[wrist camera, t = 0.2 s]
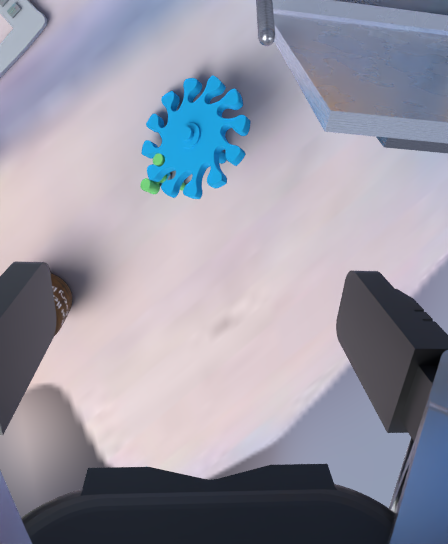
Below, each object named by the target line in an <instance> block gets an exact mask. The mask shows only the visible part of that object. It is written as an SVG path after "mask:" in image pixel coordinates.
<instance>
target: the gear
mask: <svg viewBox="0 0 448 544" xmlns="http://www.w3.org/2000/svg"><path fill="white" fill-rule="evenodd" d="M183 87H184V98H183V101H182V104H181V106H180V108H179V110H177V107H178V105H179V102H180V98H179V96H178V95H177V94H175V93H174V92H173V91H170V92H168V93H167V94H165V95H164V96H163V97H162V103H163V105H164V106H165V107H166V109H167V112H168V123H167V125H166V126H165V127H164V120H163V119H162V118H161V117H159V116H158V115H156V114H153V115H152V116H151V117H150V118H149V120H148V122H147V123H146V125H147V127H148V128H149V129H151V130H153V131H154V132H158V133H159V134H160V136H161V138H162V144H161V146H160V147H158V146H157V145H156V144H154V143H153V142H151V141H149V140H146V141H145V142H144V144H143V147H142V154H143V155H144V156H146V157H148V158H153V163H154V164H152V165H149V166H148V167H147V174H148V177H149V179H147V178H145V179H143V180H142V182H141V189H142V190H144V191H146V192H149V193H152V194H157V193H158V192H159V189H160V186H161V188H162V190H163V192H164V193H166V194H167V195H168V196H171V197H173V198H175V197H176V196H177V195H178V193H179V190H183V194H184V195H186V196H188V197H190V198H193V199H200V198H201V196H202V178H203V175H204V173H205V171H206V169H207V168H208V167H210V166H211V170H210V173H209V175H208V177H207V183H208V185H209V186H211V187H213V188H219V187H221V186H223V185H225V184H226V183H227V178H226V176H225V175H224V174H223V172H222V171H221V169H220V165H219V163H221V164H223V163H225V162H226V160H227V161H229V162H230V163H232V164H233V165H235V166H237V165H238V164H239V163H240V162H241V161H242V159H243V158H244V156H245V155H246V154H245V152H244V151H243V150H242V149H241V148H240V147H238V146H236V145H231V144H229V143H228V141H227V139H226V137H225V134H226V132H227V130H228V129H230V128H233V129H234V131H236V132H237V133H238V134H239V135H241V136H246V135H247V134H248V132H249V129H250V123H251V121H250V120H249V119H248V118H247V117H246V116H245V115H239V116H237V117H234V118H230V119H226V118H222V113H223V111H224V110H225V109H228V108H230V109H233V110H238V109H240V108H241V107H242V106H243V100H242V97H241V95H240V93H239V92H238V91H237V90H236V89H231V90H230V91H228V93H227V94H226V95H225V96H224V97H223V98H222V99H221V100H219V101H218V102H215V103H212V104H210V101H211V99H212V98H213V97H216V96H219V95H221V94H222V93H223V92H224V91H225V89H226V87H225V85H224V84H223V83H222V82H221V81H220V80H219V79H218V78H217V77H215V76H213V75H212V76H211V77H210V78H209V79H208V81H207V85H206V88H205V90H204V92H203V93H202V95H201V96H200V97H199V98H198V99H197V100H196V101H195V102H193V100H194V98H195V97H196V96H197V95H198V94H199V93H200V92H201V90H202V84H201V83H200V82H199V81H198V80H197V79H195V78H189V79H186V80H185V81H184V85H183ZM222 150H225V153H224V152H223V151H222ZM191 174H192V175H193V177H192V180H191V181H190V182H189V183H188V184H187V185H186V184H185V183H183V182H184V180H185V179H186V178H187V177H188V176H190V175H191Z"/></svg>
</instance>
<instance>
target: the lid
mask: <svg viewBox="0 0 448 544" xmlns="http://www.w3.org/2000/svg"><path fill="white" fill-rule="evenodd" d="M274 24H275V40H274V42H275V44H276V45H277V47H278V49H279V51H280V52H281V54H282V56H283V58H284V60H285V61H286V63H287V65H288V67H289V68H290V70H291V72H292V74H293V76H294V77H295V79H296V81H297V83H298V84H299V86H300V88H301V90H302V92H303V93H304V95H305V97H306V99H307V100H308V102H309V104H310V106H311V108H312V109H313V111H314V113H315V115H316V117H317V118H318V120H319V122H320V124H321V125H322V127H323V129H324V131H326V132H336V133H346V134H356V135H367V136H377V139H378V140H379V141H380V143H381V144H382V145H383V146H384V147H387V148H398V149H408V150H419V151H429V152H440V153H448V35H440V34H432V33H424V32H416V31H408V30H400V29H392V28H385V27H377V26H369V25H361V24H353V23H345V22H337V21H329V20H322V19H314V18H306V17H298V16H290V15H282V14H274Z"/></svg>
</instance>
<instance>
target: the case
mask: <svg viewBox="0 0 448 544" xmlns="http://www.w3.org/2000/svg"><path fill="white" fill-rule="evenodd" d="M272 2H273V13H274V14H282V15H290V16H298V17H306V18H314V19H322V20H329V21H337V22H345V23H353V24H361V25H369V26H377V27H385V28H392V29H400V30H408V31H416V32H424V33H432V34H440V35H448V15H441V14H433V13H426V12H418V11H410V10H403V9H395V8H388V7H380V6H373V5H365V4H358V3H350V2H342V1H335V0H272Z"/></svg>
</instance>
